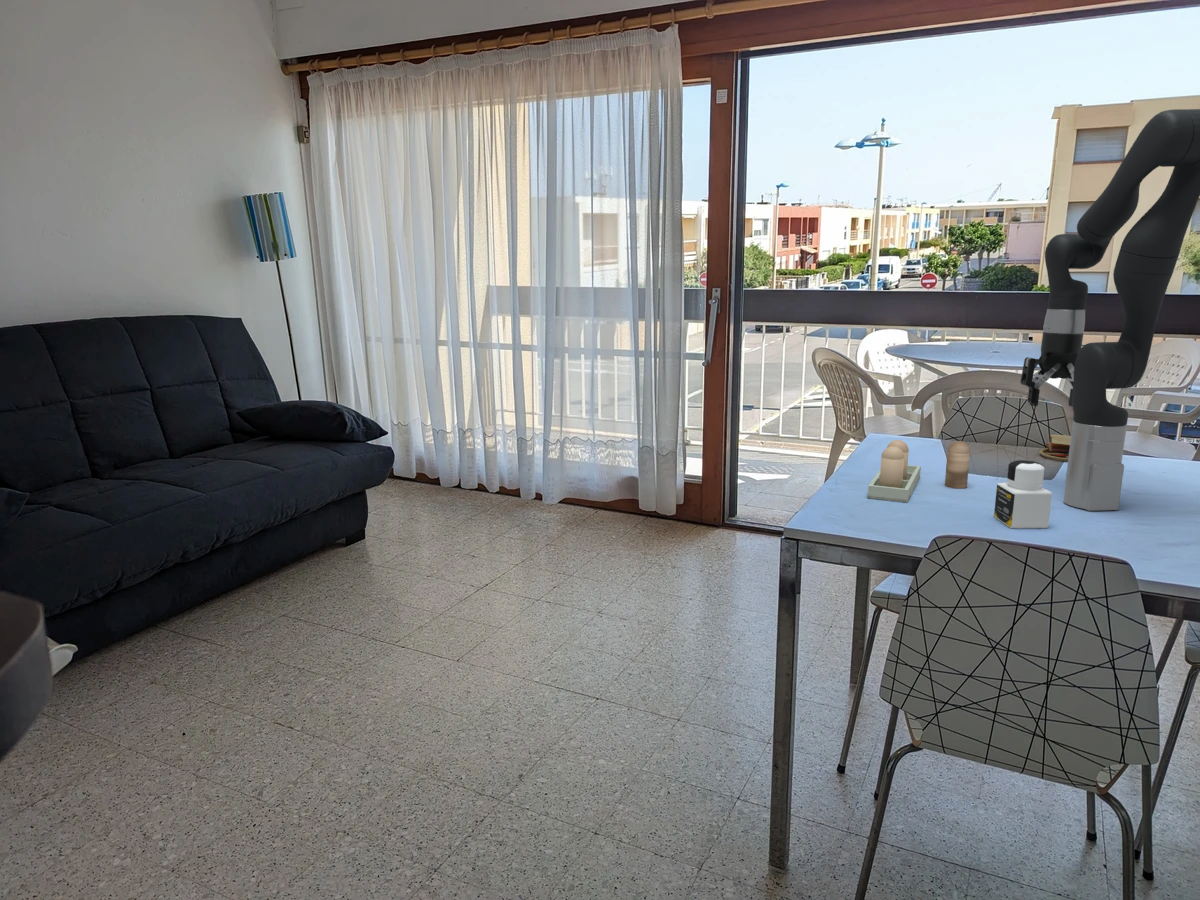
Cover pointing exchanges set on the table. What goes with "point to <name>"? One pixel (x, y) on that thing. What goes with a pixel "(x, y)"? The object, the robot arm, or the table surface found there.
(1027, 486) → the medicine bottle
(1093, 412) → the robot arm
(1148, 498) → the table surface
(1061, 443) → the toy sandwich meal
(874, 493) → the compartment tray
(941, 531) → the table surface
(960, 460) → the round-topped wooden peg
